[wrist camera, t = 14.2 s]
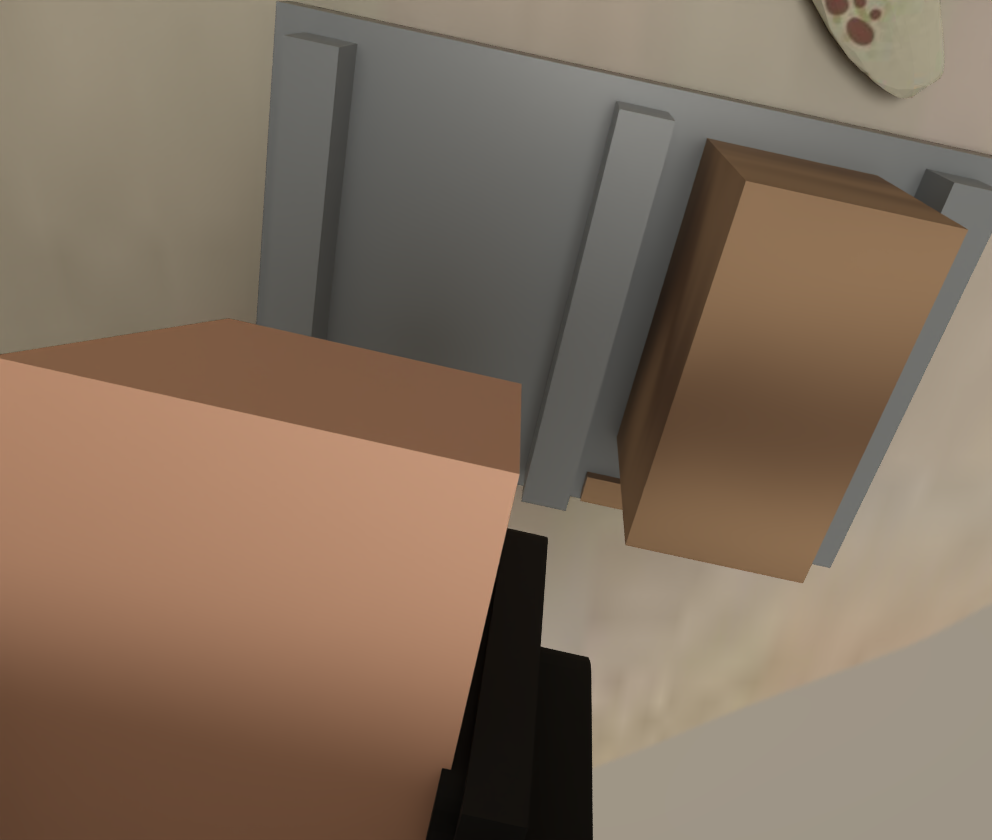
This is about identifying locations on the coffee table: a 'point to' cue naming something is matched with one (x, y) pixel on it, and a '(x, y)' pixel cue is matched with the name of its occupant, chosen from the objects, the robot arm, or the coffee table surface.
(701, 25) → the coffee table surface
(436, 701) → the terracotta bar
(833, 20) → the decorative turtle
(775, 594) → the coffee table surface
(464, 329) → the slot rack
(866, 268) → the walnut bar
